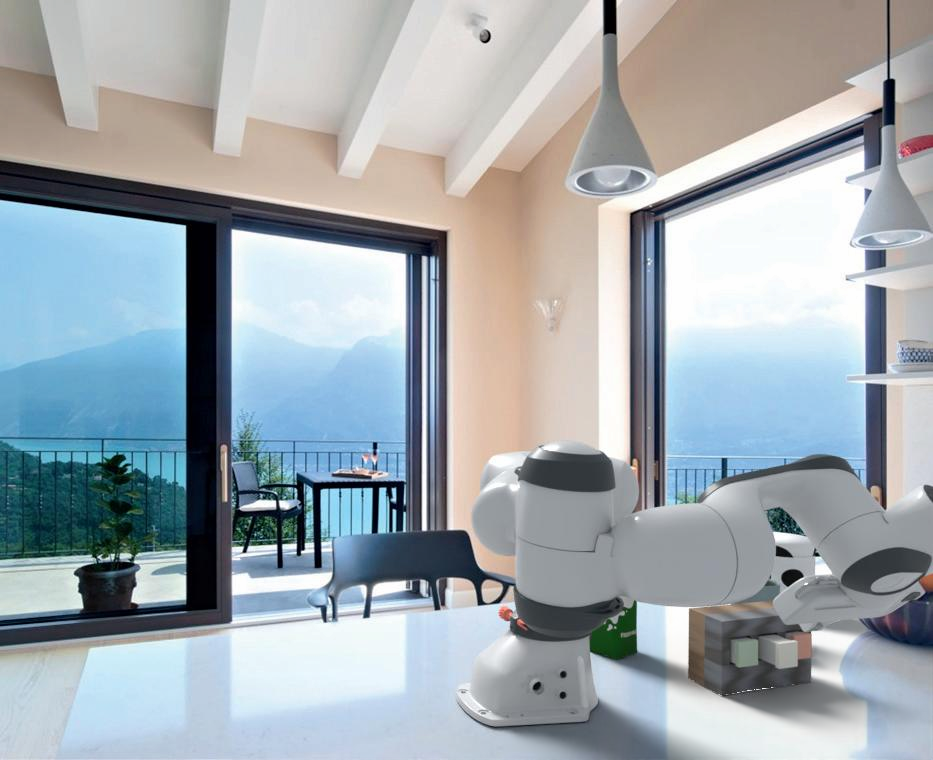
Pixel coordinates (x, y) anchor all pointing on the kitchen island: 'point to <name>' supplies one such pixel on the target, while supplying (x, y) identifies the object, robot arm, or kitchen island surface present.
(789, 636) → the coral button
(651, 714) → the kitchen island surface
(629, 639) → the milk carton
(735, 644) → the sage button
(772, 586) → the blue-grey cup
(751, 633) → the console
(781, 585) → the milk container
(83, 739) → the kitchen island surface
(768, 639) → the cream button
